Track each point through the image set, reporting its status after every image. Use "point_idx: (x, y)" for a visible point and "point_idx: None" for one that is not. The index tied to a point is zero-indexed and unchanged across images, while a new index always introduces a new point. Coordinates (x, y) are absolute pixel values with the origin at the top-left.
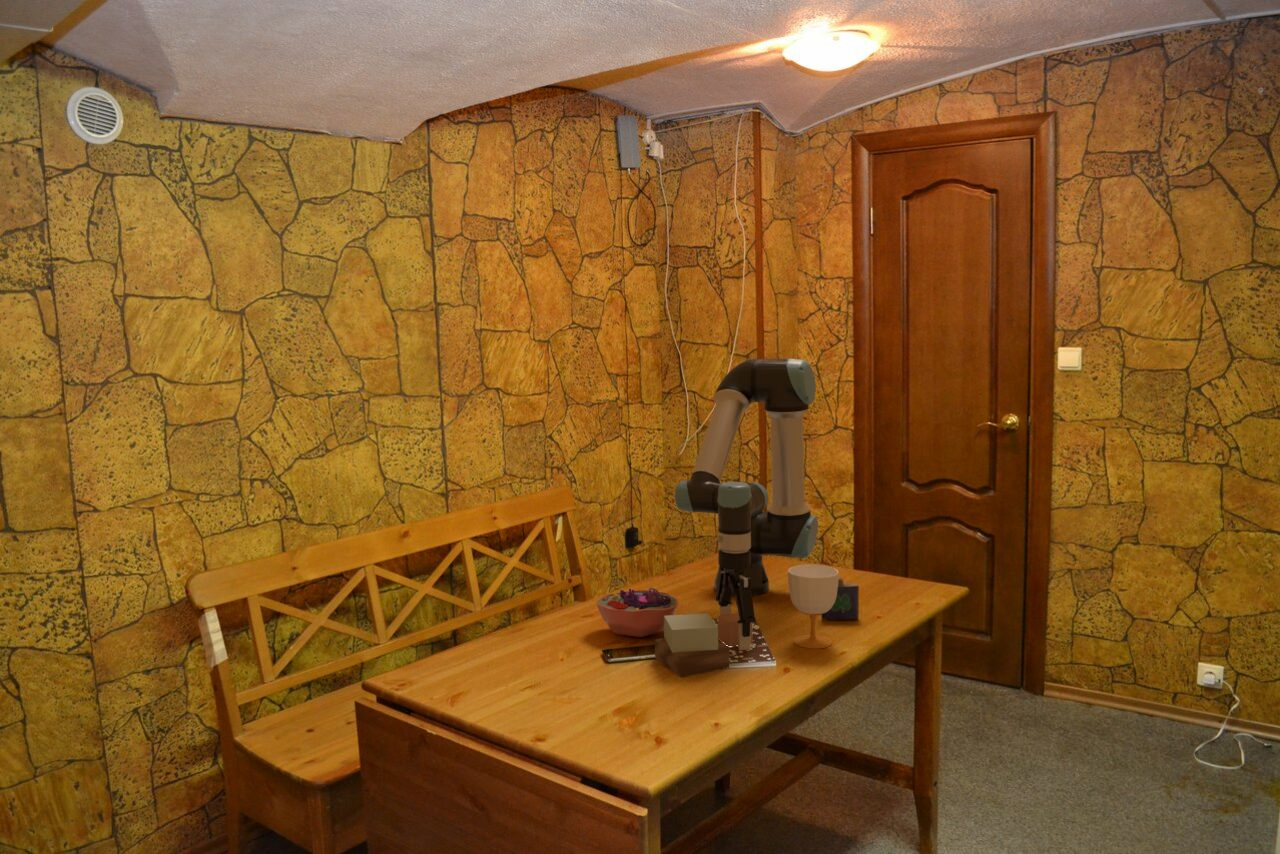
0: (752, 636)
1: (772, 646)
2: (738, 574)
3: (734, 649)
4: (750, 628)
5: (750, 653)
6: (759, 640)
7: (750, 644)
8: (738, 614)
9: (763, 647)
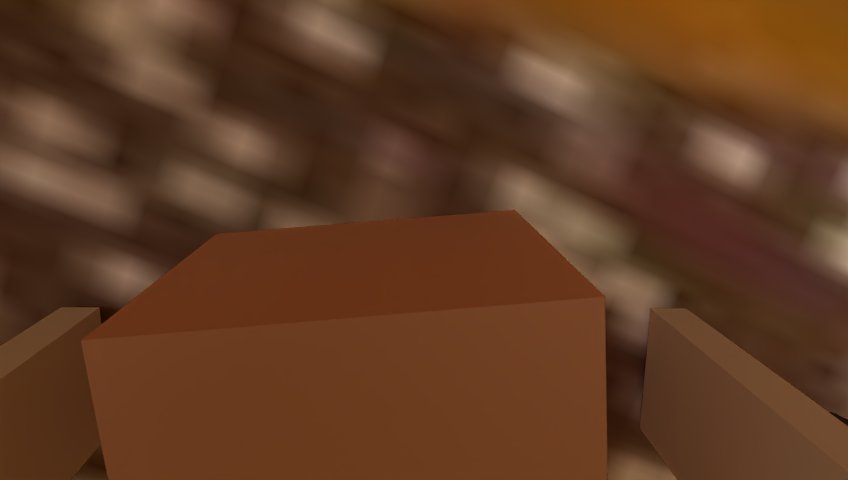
0: (534, 229)
1: (671, 19)
2: None
3: None
4: (843, 425)
5: (760, 341)
6: (426, 80)
7: (708, 328)
8: (220, 432)
9: (658, 136)
